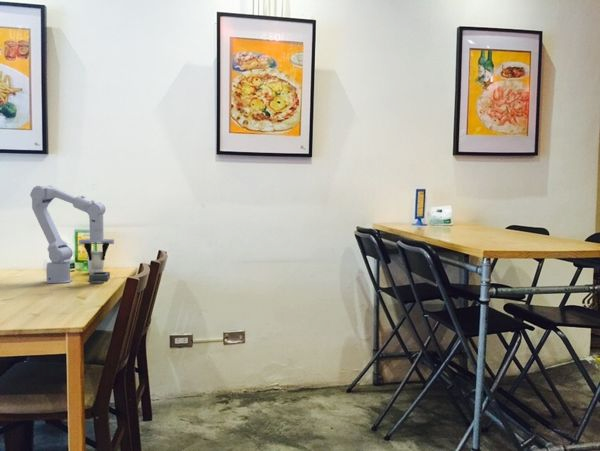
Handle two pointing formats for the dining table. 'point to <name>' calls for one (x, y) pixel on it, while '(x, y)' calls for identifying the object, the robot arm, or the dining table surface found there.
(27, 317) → the dining table surface
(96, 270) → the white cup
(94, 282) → the mat
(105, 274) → the housing
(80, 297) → the dining table surface
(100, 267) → the end cover
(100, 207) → the robot arm
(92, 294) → the dining table surface
